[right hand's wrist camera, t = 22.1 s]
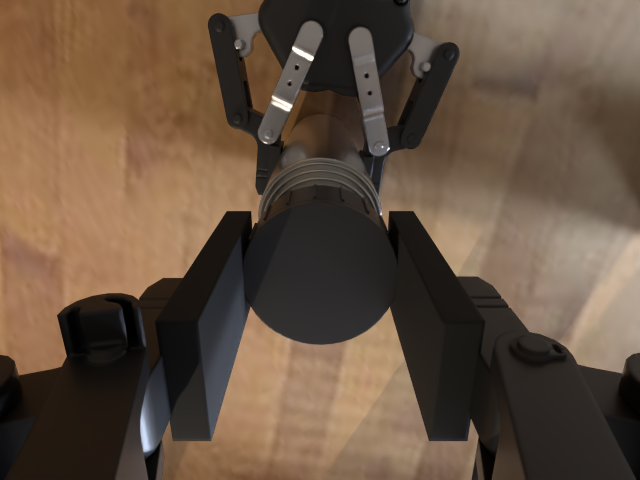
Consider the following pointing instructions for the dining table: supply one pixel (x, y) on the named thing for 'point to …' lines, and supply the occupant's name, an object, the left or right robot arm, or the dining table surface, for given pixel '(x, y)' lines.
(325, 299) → the cap
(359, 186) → the bottle
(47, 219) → the dining table surface
